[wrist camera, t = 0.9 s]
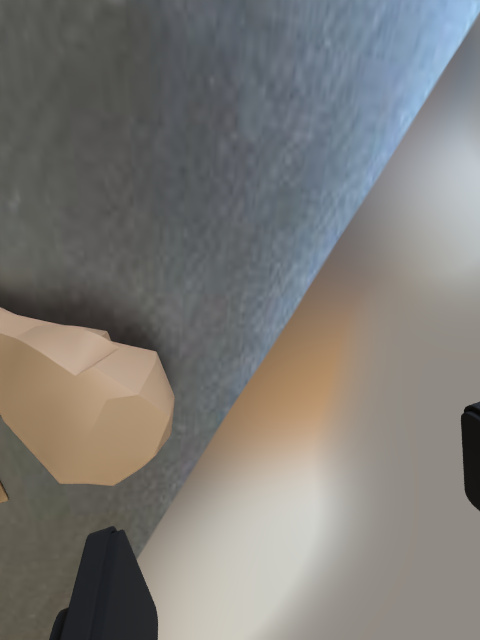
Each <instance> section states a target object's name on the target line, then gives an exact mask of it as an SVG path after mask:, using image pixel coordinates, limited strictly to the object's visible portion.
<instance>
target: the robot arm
mask: <svg viewBox="0 0 480 640" xmlns="http://www.w3.org/2000/svg"><path fill="white" fill-rule="evenodd" d="M461 429H462V447H463V466H464V484H465V493H466V496H467V497H468V499H469V501H470V502H471V503H472V504H473V505H474V506H475V507H476V508H477V509H478V510H479V511H480V402H478V403H475V404H472V405H469V406H467V407H465V409H464V413H463V414H462V415H461ZM49 640H158V617H157V611H156V607H155V604H154V601H153V599H152V597H151V594H150V592H149V589H148V587H147V585H146V582H145V580H144V577H143V575H142V572H141V570H140V568H139V566H138V563H137V560H136V558H135V555H134V553H133V551H132V548H131V546H130V543H129V541H128V538H127V536H126V534H125V532H124V530H120V531H117V530H116V528H115V527H114V526H111V527H108V528H106V529H103V530H100V531H97V532H94V533H91V534H89V535H88V537H87V539H86V543H85V547H84V551H83V554H82V558H81V562H80V566H79V570H78V574H77V577H76V581H75V585H74V589H73V593H72V596H71V600H70V604H69V607H68V608H66V609H63V610H61V611H60V612H59V614H58V615H57V617H56V620H55V622H54V625H53V628H52V632H51V635H50V639H49Z"/></svg>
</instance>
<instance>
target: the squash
mask: <svg viewBox="0 0 480 640" xmlns="http://www.w3.org/2000/svg"><path fill="white" fill-rule="evenodd" d="M174 401H175V397H174V394H173V391H172V389H171V386H170V384H169V381H168V379H167V376H166V374H165V371H164V369H163V366H162V364H161V361H160V359H159V357H158V354H157V352H156V351H151V350H147V349H142V348H138V347H134V346H129V345H125V344H120V343H116V342H112V341H111V339H110V337H109V334H108V332H107V331H103V330H97V329H91V328H85V327H79V326H67V325H60V324H56V323H51V322H47V321H42V320H37V319H33V318H28V317H24V316H19V315H16V314H13V313H11V312H9V311H7V310H5V309H3V308H1V307H0V414H1V416H2V418H3V420H4V422H5V423H6V424H7V425H8V426H9V427H10V428H11V430H12V431H13V432H14V433H15V434H16V435H17V436H18V437H19V439H20V440H21V441H22V442H23V443H24V444H25V445H26V446H27V447H28V449H29V450H30V451H31V452H32V453H33V454H34V455H35V456H36V458H37V459H38V460H39V461H40V462H41V463H42V464H43V465H44V466H45V468H46V469H47V470H48V471H49V472H50V473H51V474H52V475H53V477H54V478H55V479H56V480H57V481H58V482H59V483H60V484H83V483H86V484H98V485H109V486H114V485H115V484H117V483H118V482H120V481H122V480H123V479H125V478H126V477H128V476H129V475H131V474H132V473H134V472H136V471H137V470H139V469H140V468H142V467H143V466H144V465H145V464H146V463H147V462H149V461H150V460H151V459H152V458H153V457H154V456H155V455H156V454H157V452H158V451H159V450H160V448H161V447H162V446H163V445H164V443H165V442H166V441H167V439H168V438H169V437H170V435H171V428H172V419H173V410H174Z"/></svg>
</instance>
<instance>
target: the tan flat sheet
mask: <svg viewBox="0 0 480 640" xmlns="http://www.w3.org/2000/svg"><path fill="white" fill-rule="evenodd" d="M8 500H9V498H8V496H7V494H6V492H5V490H4V488H3V486H2V484H1V482H0V503H2V502H5V501H8Z"/></svg>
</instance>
